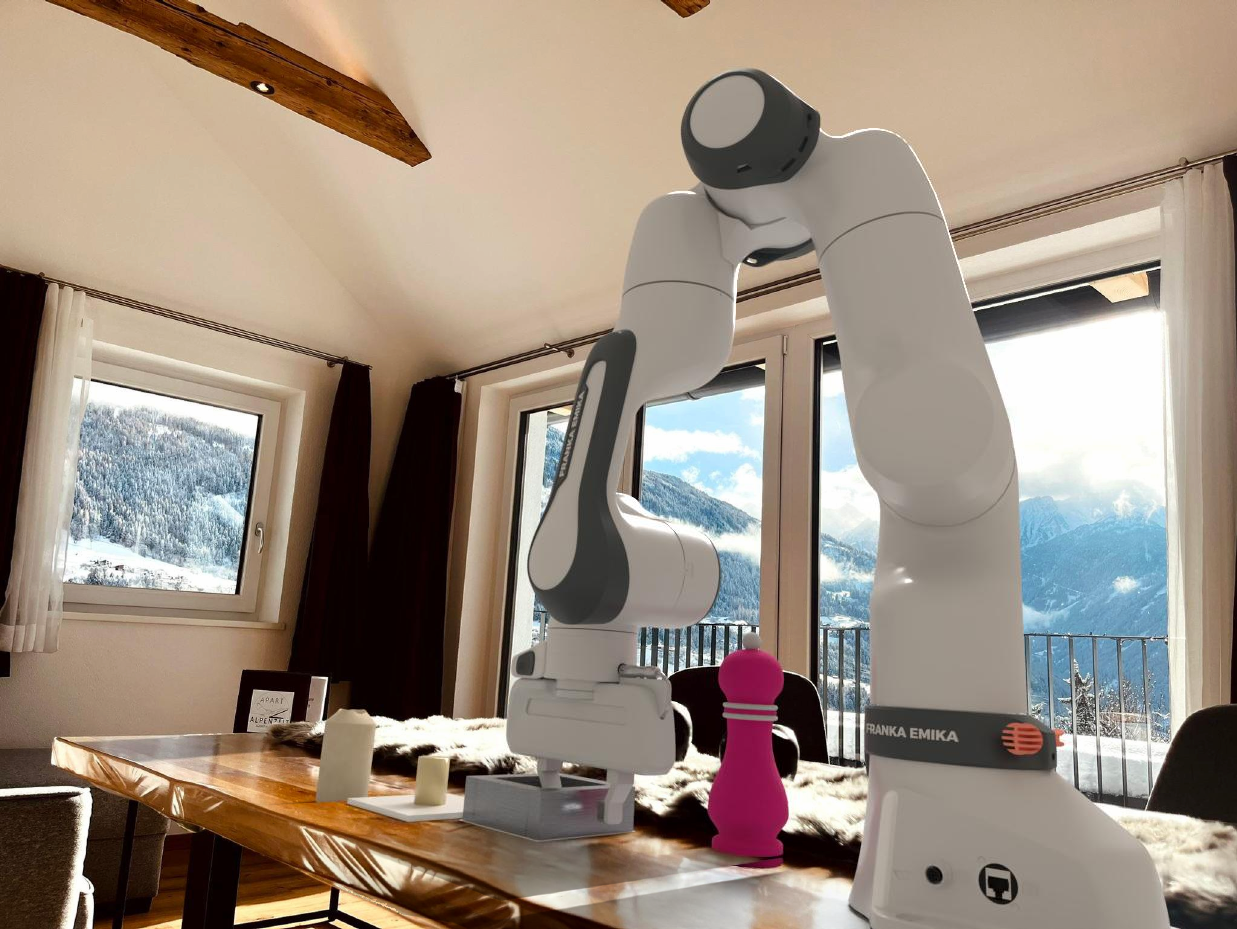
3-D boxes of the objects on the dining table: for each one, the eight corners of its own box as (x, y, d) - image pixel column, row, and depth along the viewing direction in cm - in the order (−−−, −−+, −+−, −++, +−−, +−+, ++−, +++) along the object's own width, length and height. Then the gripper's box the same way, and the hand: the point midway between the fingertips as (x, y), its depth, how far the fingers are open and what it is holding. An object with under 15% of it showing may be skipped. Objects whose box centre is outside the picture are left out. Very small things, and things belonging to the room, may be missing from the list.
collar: (632, 831, 85) (635, 786, 86) (537, 840, 77) (541, 791, 78) (555, 812, 93) (558, 772, 94) (462, 819, 85) (466, 776, 86)
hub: (510, 824, 91) (515, 762, 92) (407, 832, 83) (414, 765, 84) (445, 807, 99) (451, 750, 101) (346, 813, 91) (353, 752, 93)
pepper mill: (693, 861, 77) (701, 628, 82) (723, 849, 84) (729, 633, 88) (773, 874, 74) (777, 630, 79) (798, 861, 80) (800, 635, 85)
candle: (347, 808, 95) (359, 710, 97) (304, 803, 97) (316, 707, 99) (376, 802, 100) (387, 710, 102) (335, 797, 102) (346, 707, 104)
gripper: (694, 668, 80) (688, 832, 77) (549, 661, 94) (538, 799, 91) (645, 664, 76) (636, 838, 72) (501, 658, 90) (488, 802, 87)
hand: (580, 816), depth 82 cm, fingers open, 6 cm apart
